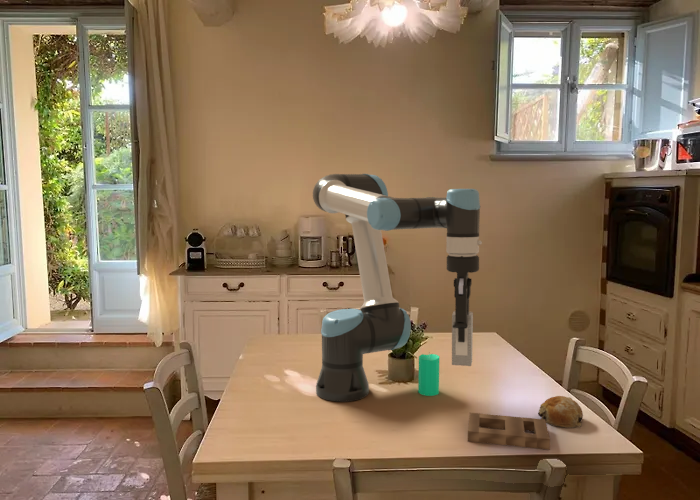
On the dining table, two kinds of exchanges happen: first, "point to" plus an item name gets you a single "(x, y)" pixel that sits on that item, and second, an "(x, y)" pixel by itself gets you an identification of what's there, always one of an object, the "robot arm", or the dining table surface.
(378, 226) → the robot arm
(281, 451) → the dining table surface
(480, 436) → the socket block
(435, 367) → the candle
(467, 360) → the square bit
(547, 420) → the bread roll
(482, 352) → the dining table surface
